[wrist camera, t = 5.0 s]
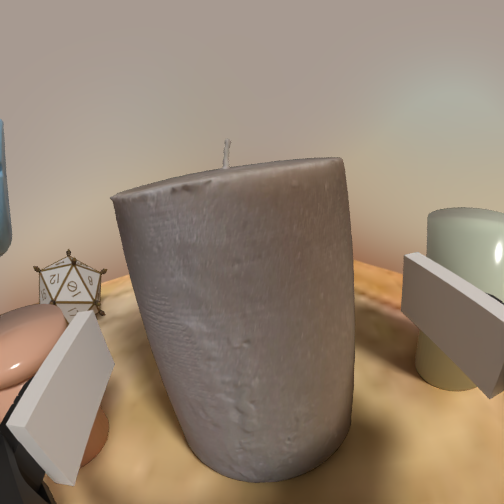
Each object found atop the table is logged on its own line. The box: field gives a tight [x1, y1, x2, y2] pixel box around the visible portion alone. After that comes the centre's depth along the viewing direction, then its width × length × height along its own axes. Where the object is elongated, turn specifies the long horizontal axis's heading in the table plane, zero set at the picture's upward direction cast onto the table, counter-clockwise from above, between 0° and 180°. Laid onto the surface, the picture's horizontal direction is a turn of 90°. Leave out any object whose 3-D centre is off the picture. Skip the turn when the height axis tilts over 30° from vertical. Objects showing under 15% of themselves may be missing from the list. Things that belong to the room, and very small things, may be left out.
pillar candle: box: [110, 139, 355, 483], centre depth 15 cm, size 10×10×15 cm
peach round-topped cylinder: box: [0, 304, 109, 467], centre depth 15 cm, size 8×8×8 cm
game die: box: [34, 249, 107, 325], centre depth 30 cm, size 9×8×10 cm
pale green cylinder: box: [415, 207, 504, 391], centre depth 16 cm, size 6×6×10 cm
